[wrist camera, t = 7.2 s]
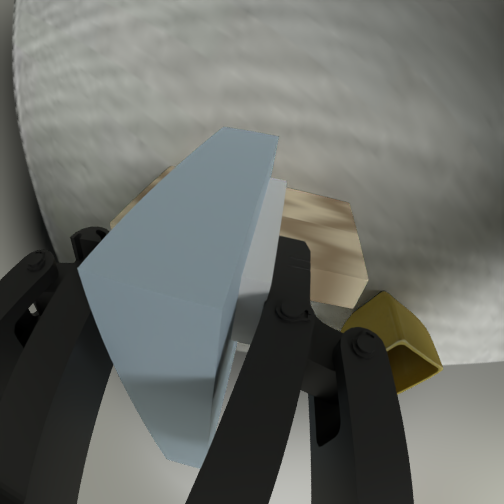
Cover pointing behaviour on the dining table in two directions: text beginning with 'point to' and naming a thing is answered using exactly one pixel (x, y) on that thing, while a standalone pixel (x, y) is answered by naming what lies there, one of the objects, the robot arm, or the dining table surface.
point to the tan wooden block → (315, 243)
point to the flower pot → (399, 339)
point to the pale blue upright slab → (181, 287)
